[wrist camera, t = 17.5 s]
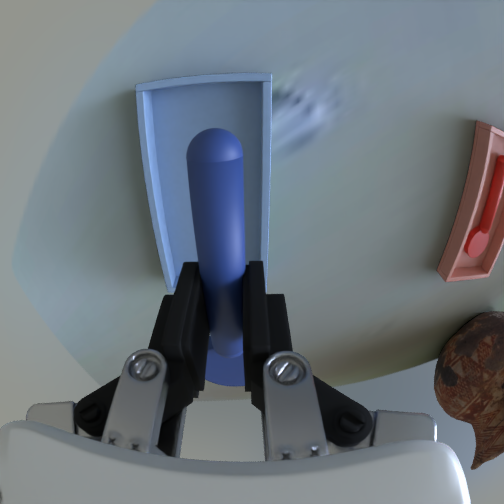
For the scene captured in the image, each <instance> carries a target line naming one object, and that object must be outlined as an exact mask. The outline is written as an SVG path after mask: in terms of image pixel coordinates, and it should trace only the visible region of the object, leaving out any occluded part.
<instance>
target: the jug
mask: <svg viewBox="0 0 504 504" xmlns="http://www.w3.org/2000/svg"><path fill="white" fill-rule="evenodd" d="M434 390H435V394H436V398H437V401H438V402H439V404H440V405H441V407H442V408H443V409H444V411H445V412H446V413H447V414H448V415H450V416H451V417H453V418H455V419H457V420H461V421H465V422H467V423H470V424H472V426H473V429H474V432H475V437H476V450H475V456H474V460H473V464H472V466H471V469H472V470H473V469H476V468H478V467H479V466H481V465H482V464H483V463H484V462H486V461H489V460H492V459H494V458H495V457H497V456H499V455H500V454H501V453H503V452H504V312H497V311H490V312H485V313H482V314H480V315H478V316H476V317H475V318H474V319H472V320H471V321H470V322H468V323H467V324H466V325H464V326H463V327H462V328H461V329H460V330H459V331H458V332H457V333H456V334H455V335H454V336H453V337H451V339H450V340H449V341H448V342H447V343H446V345H445V346H444V348H443V349H442V351H441V353H440V356H439V358H438V361H437V364H436V369H435V376H434Z"/></svg>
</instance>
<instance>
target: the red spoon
mask: <svg viewBox="0 0 504 504" xmlns="http://www.w3.org/2000/svg"><path fill="white" fill-rule="evenodd" d="M503 187H504V155H499V156H498V158H497V161H496V166H495V171H494V175H493V179H492V184H491V187H490V191H489V195H488V198H487V202H486V205H485V209H484V212H483V215H482V218H481V221H480V224H479V226H477V227H475V228H473V229H472V230H471V231H470V233H469V234H468V237H467V239H466V242H465V245H464V250H465V252H466V253H467V255H468V256H469V257H471V258H476V257H478V256H479V255H480V254H481V253H482V252H483V251H484V250H485V248H486V246H487V244H488V241H489V233H488V232H489V231H490V229H491V226H492V223H493V220H494V217H495V214H496V211H497V208H498V204H499V201H500V198H501V194H502V190H503Z"/></svg>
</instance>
